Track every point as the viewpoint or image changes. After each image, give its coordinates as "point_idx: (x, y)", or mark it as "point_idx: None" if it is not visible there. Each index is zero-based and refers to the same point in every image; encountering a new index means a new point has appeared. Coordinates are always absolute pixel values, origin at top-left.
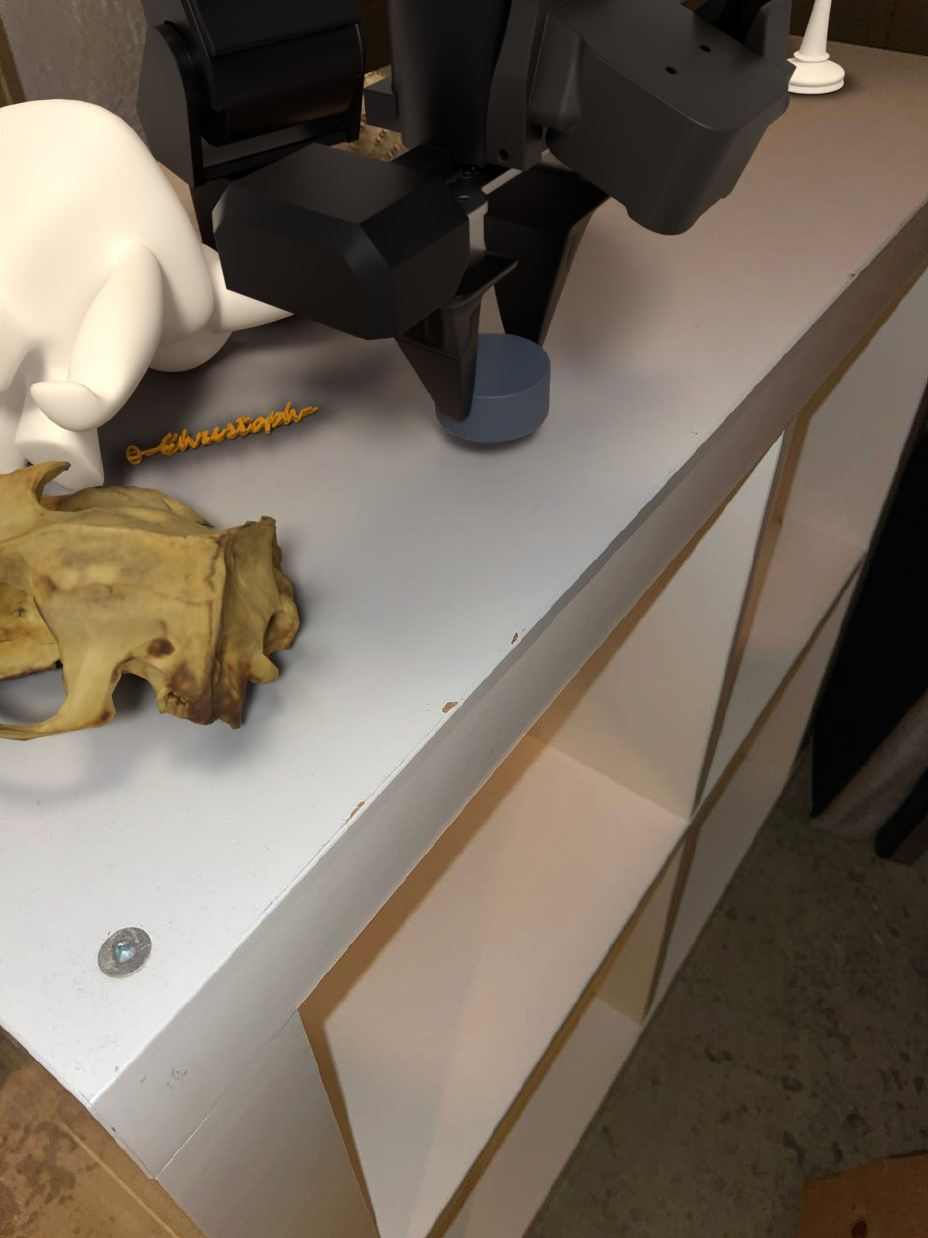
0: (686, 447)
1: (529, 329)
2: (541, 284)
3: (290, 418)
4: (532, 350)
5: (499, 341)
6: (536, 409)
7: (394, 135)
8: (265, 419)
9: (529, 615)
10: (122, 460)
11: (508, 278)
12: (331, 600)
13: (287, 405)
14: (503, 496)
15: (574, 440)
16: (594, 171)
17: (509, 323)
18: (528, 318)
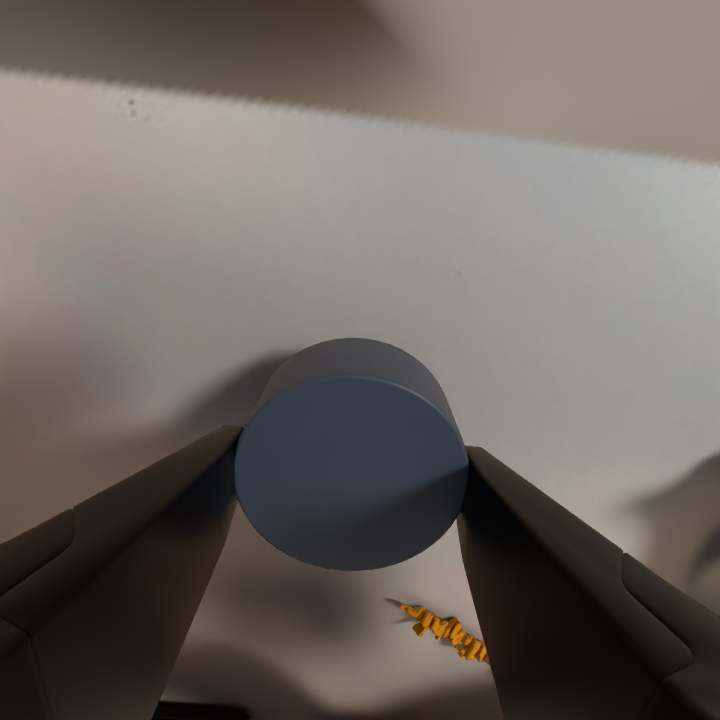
0: (180, 103)
1: (227, 475)
2: (167, 539)
3: (432, 617)
4: (266, 439)
5: (273, 502)
6: (376, 355)
7: None
8: (453, 637)
9: (687, 170)
10: None
11: (179, 606)
12: (716, 418)
13: (422, 634)
14: (447, 328)
15: (271, 294)
16: None
17: (229, 515)
18: (216, 494)
